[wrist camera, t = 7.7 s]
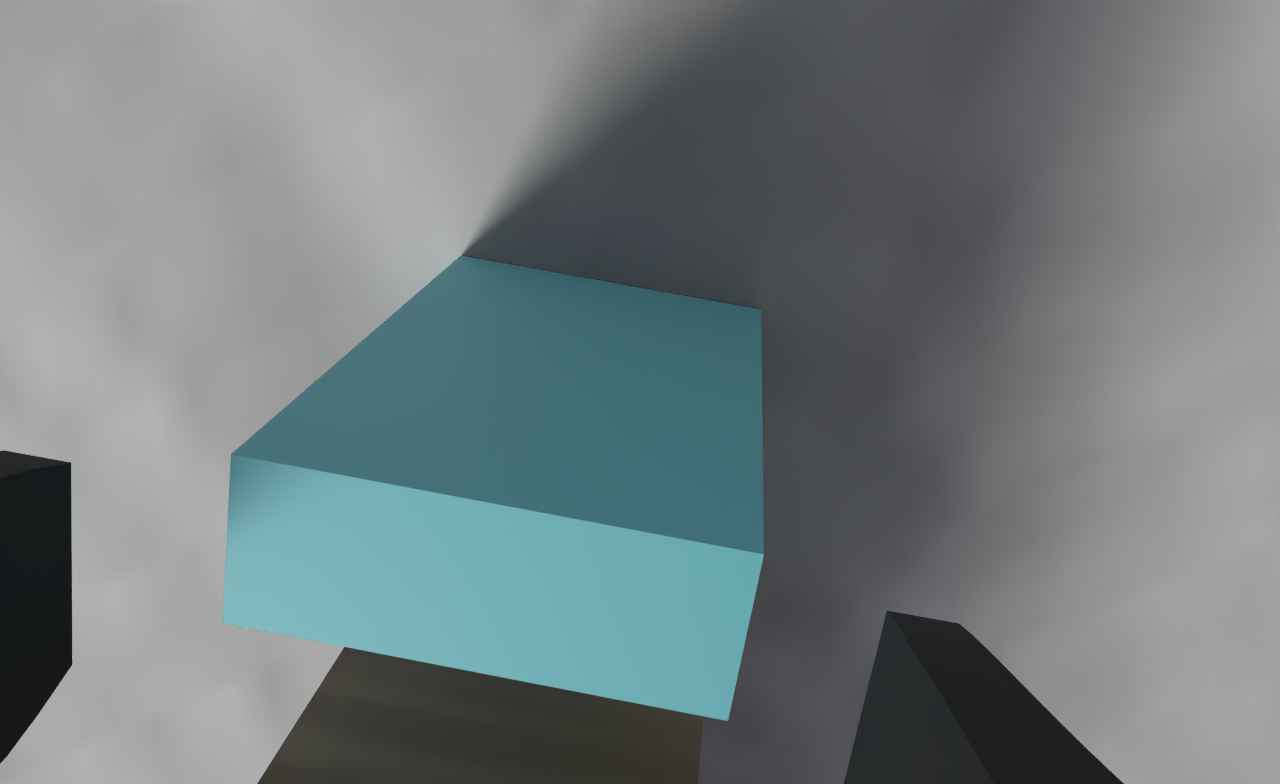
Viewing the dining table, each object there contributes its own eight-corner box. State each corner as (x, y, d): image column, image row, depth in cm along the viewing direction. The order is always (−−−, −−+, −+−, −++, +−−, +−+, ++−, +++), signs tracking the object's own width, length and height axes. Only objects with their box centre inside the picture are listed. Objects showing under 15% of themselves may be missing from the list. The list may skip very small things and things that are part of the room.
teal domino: (461, 255, 19) (230, 454, 11) (761, 309, 19) (764, 554, 11) (449, 358, 20) (222, 622, 12) (740, 411, 20) (727, 721, 11)
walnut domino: (436, 504, 21) (215, 850, 12) (715, 553, 21) (684, 939, 12) (426, 593, 22) (210, 981, 13) (698, 642, 21) (658, 1069, 13)
